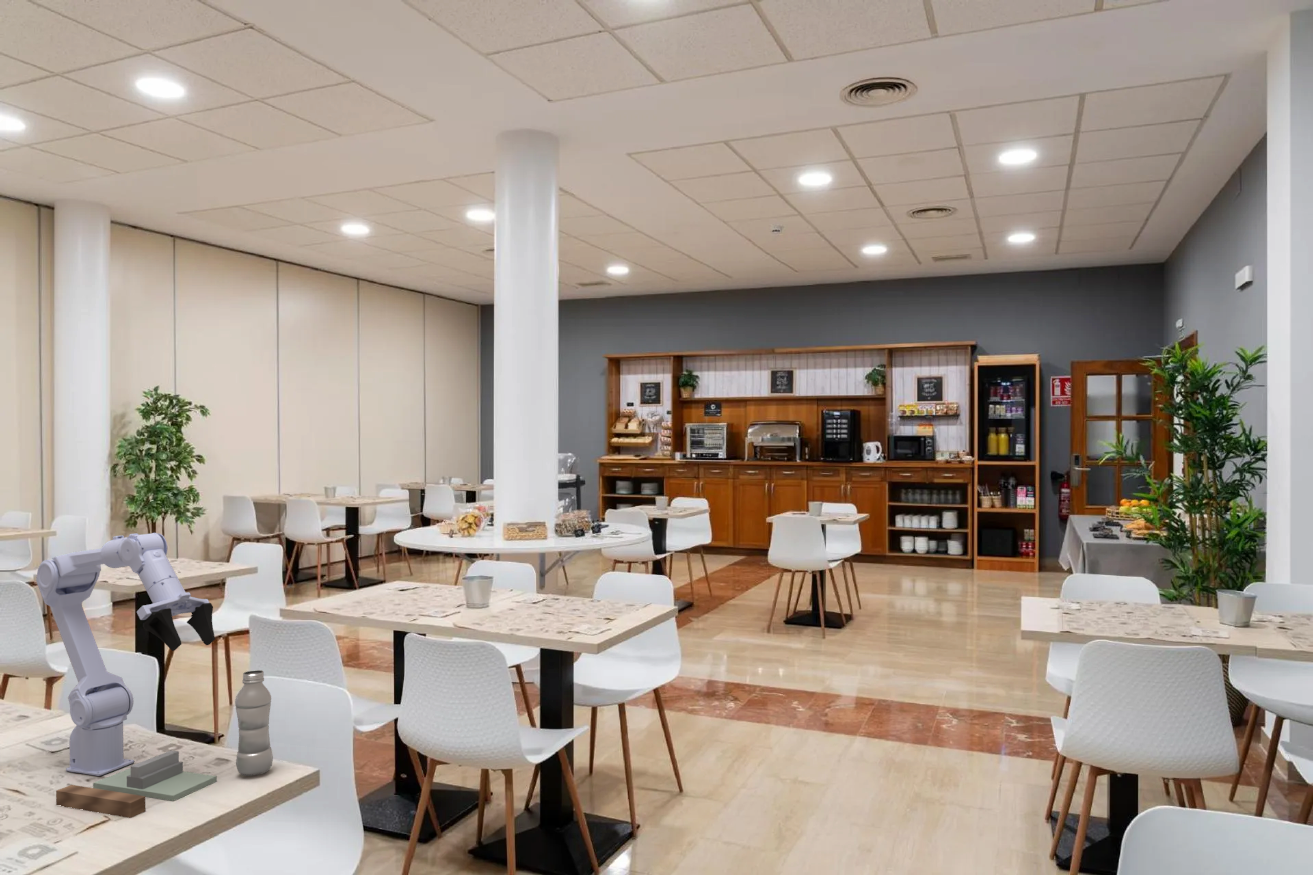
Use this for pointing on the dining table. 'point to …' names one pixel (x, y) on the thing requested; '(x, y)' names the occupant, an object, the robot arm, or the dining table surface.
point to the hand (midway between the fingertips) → (194, 644)
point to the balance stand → (157, 779)
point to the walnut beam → (101, 801)
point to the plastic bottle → (253, 725)
